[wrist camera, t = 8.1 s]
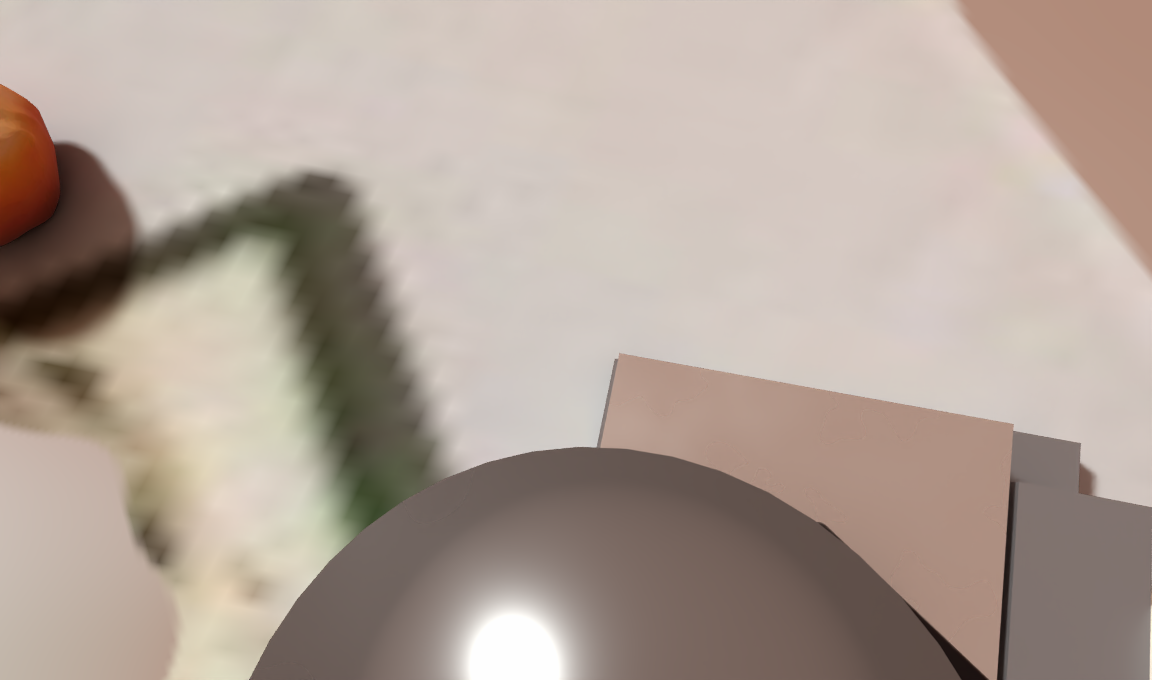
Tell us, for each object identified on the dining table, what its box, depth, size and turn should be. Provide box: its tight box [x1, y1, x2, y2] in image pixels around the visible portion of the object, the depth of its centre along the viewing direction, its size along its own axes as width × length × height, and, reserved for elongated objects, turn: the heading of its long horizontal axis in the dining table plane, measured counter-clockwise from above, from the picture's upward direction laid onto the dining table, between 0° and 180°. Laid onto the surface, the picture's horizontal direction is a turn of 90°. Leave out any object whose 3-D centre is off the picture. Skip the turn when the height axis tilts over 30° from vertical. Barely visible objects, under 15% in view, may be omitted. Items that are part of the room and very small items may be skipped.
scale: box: [597, 359, 1152, 680], centre depth 19 cm, size 16×12×5 cm
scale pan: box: [600, 353, 1014, 680], centre depth 19 cm, size 11×11×2 cm
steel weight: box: [249, 447, 961, 680], centre depth 10 cm, size 5×5×12 cm
